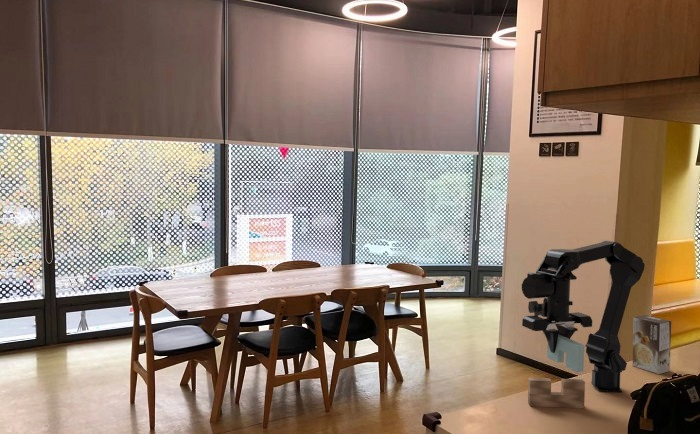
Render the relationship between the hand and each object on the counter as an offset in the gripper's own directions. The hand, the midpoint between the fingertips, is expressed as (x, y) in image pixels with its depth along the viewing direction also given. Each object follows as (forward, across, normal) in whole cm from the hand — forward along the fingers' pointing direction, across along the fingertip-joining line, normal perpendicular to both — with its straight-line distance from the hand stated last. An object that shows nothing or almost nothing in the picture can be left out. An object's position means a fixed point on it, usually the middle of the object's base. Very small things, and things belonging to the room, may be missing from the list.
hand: (556, 352), depth 148 cm
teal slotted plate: (+2, 0, +4) cm, 4 cm away
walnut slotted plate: (+13, +3, +4) cm, 14 cm away
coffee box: (+12, -44, -11) cm, 47 cm away
